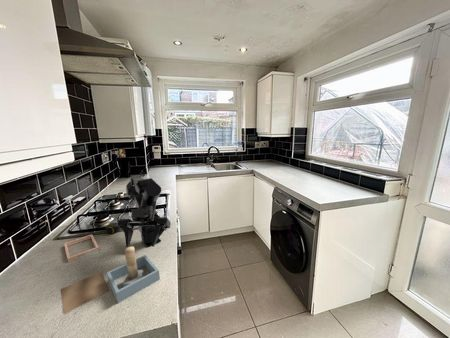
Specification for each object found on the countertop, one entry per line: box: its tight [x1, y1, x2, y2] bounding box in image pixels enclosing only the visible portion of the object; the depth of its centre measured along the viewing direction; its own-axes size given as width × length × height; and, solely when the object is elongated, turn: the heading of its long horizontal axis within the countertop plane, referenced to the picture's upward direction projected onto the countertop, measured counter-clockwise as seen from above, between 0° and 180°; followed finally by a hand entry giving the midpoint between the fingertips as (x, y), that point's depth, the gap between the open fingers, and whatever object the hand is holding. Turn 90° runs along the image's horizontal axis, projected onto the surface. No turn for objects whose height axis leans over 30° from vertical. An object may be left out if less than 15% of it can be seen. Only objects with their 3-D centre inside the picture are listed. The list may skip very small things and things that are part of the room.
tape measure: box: [104, 222, 121, 234], centre depth 99 cm, size 7×7×4 cm
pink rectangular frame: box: [63, 233, 100, 263], centre depth 85 cm, size 11×16×2 cm
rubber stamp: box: [122, 246, 145, 288], centre depth 62 cm, size 6×4×12 cm, turn 2°
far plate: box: [60, 271, 110, 315], centre depth 60 cm, size 11×12×1 cm
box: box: [106, 254, 161, 304], centre depth 63 cm, size 13×12×4 cm
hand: (140, 247), depth 69 cm, fingers open, 9 cm apart
